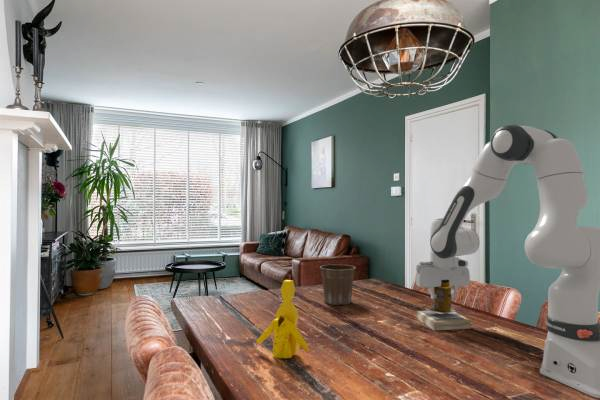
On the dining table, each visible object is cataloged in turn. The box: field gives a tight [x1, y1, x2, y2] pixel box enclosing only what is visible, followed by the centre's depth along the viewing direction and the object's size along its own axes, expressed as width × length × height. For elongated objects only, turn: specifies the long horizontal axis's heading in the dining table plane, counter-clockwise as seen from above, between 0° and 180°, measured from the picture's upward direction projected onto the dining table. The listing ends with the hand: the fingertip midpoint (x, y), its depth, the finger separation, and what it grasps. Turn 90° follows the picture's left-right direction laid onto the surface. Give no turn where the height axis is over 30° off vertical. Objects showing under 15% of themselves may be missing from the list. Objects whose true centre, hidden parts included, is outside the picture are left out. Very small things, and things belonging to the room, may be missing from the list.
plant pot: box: [319, 264, 356, 306], centre depth 182 cm, size 16×16×16 cm
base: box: [416, 310, 472, 331], centre depth 150 cm, size 14×14×3 cm
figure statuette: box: [255, 279, 310, 360], centre depth 120 cm, size 18×8×22 cm, turn 64°
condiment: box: [425, 280, 456, 314], centre depth 150 cm, size 7×8×12 cm
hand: (442, 298), depth 150 cm, fingers closed on condiment, 6 cm apart
